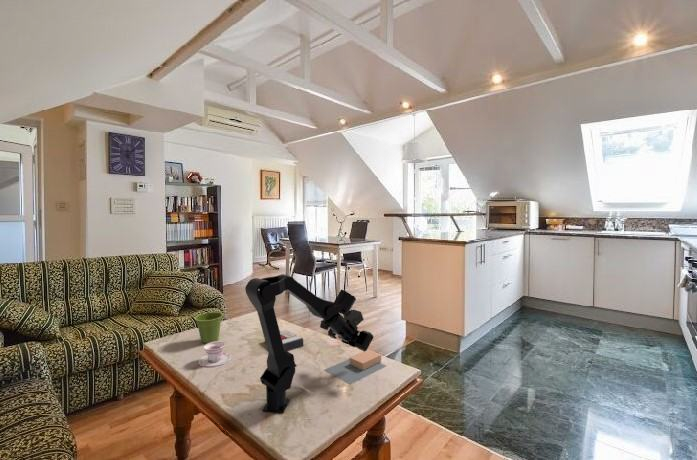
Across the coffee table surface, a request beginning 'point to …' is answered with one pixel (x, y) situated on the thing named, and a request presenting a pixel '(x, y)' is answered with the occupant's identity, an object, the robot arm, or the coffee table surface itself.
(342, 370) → the mat
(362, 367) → the peach rectangular block
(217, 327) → the plant pot
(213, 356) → the teacup
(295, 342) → the red and grey box
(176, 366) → the coffee table surface
